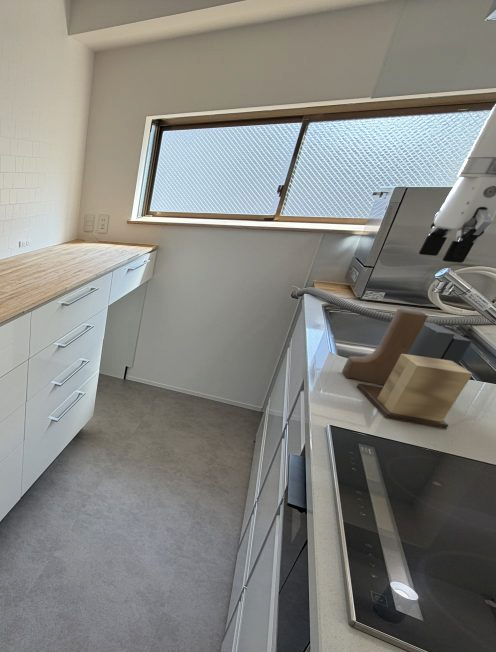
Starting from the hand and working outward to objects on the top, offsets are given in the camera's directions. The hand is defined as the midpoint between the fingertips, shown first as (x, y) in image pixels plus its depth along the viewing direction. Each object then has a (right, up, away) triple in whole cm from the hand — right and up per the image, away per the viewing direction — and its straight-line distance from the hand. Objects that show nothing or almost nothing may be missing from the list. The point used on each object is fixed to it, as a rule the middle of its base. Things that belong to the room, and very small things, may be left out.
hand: (439, 258), depth 89 cm
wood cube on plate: (-7, -32, +2) cm, 33 cm away
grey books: (+7, -28, +12) cm, 31 cm away
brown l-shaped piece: (-2, -26, +15) cm, 30 cm away
